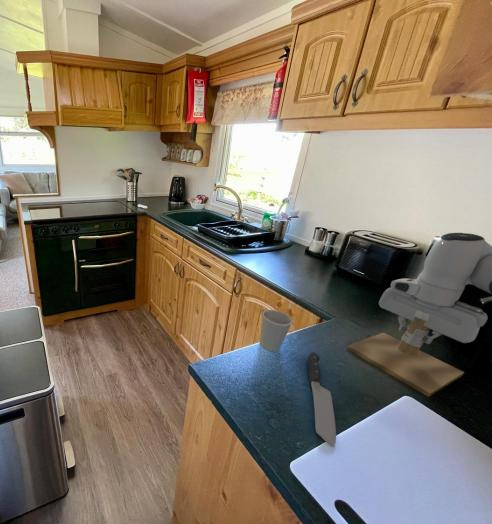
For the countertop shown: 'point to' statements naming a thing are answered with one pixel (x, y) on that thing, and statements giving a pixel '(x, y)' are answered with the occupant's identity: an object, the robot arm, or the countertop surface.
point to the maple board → (406, 364)
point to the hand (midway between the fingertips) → (413, 336)
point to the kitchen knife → (321, 402)
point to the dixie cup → (274, 329)
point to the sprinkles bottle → (414, 334)
